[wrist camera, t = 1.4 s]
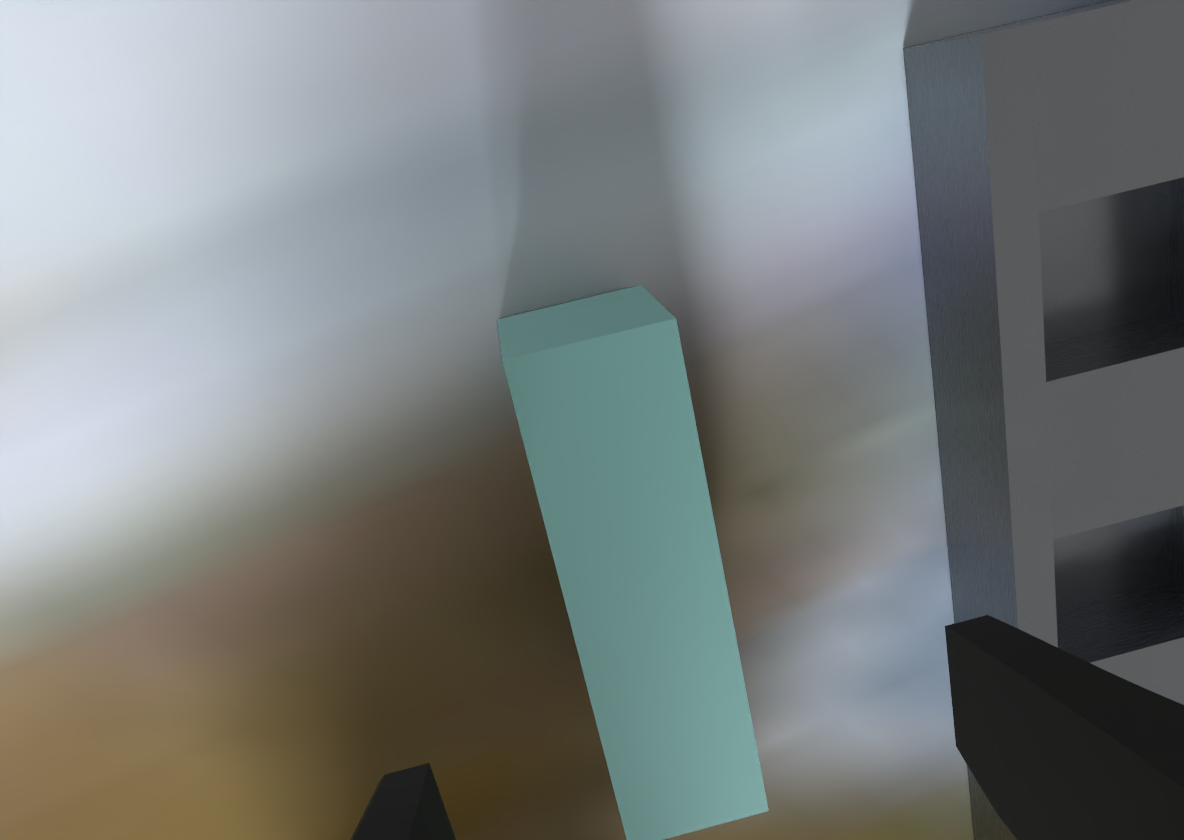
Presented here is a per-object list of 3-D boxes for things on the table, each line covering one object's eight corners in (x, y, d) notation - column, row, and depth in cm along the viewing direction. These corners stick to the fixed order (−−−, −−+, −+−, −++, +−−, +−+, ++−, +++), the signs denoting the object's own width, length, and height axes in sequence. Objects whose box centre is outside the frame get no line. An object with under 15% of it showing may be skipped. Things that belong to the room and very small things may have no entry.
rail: (1170, 853, 27) (1253, 940, 24) (980, 907, 27) (1040, 1001, 24) (1176, -15, 19) (1302, -40, 16) (903, 48, 18) (980, 35, 16)
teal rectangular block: (701, 655, 23) (768, 810, 17) (593, 683, 22) (628, 849, 17) (622, 265, 19) (676, 318, 14) (493, 296, 19) (502, 360, 14)
